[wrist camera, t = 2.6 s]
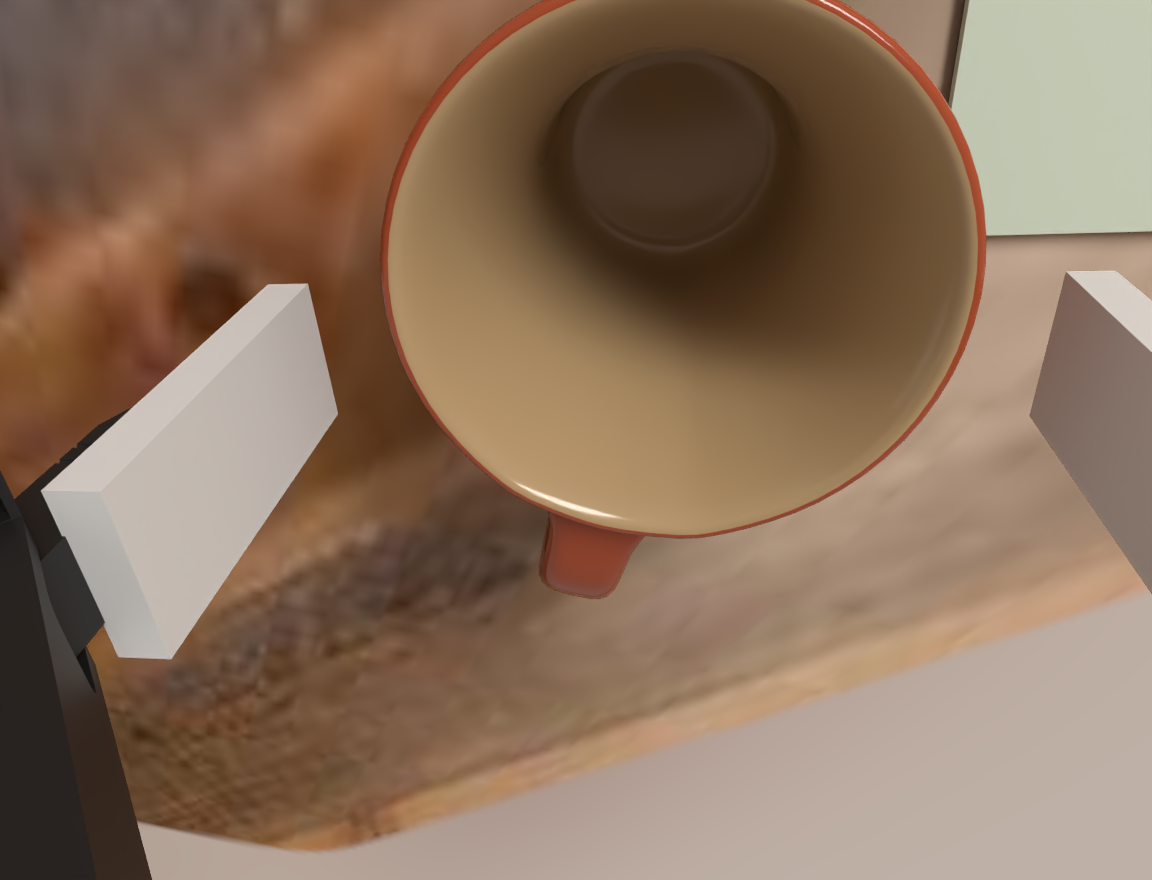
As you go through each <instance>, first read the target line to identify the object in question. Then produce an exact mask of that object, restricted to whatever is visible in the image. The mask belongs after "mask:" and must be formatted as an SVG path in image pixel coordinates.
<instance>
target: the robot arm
mask: <svg viewBox="0 0 1152 880" xmlns="http://www.w3.org/2000/svg"><path fill="white" fill-rule="evenodd" d="M337 415H338V411H337V407H336V403H335V398H334V394H333V390H332V386H331V381H330V377H329V373H328V368H327V364H326V360H325V355H324V351H323V347H322V343H321V338H320V334H319V330H318V325H317V321H316V317H315V313H314V308H313V304H312V300H311V295H310V291H309V287H308V284H268V285H267V286H266V287H265V288H264V289H263V290H261V291H260V292H259V293H258V294H257V295H256V296H255V297H254V298H253V299H252V300H250V301H249V302H248V303H247V304H246V305H245V306H244V307H243V308H242V309H240V310H239V311H238V312H237V313H236V314H235V315H234V316H233V317H232V318H231V319H229V320H228V321H227V322H226V323H225V324H224V325H223V326H222V327H221V328H220V329H218V330H217V331H216V332H215V333H214V334H213V335H212V336H211V337H210V338H209V339H207V340H206V341H205V342H204V343H203V344H202V345H201V346H200V347H199V348H198V349H196V350H195V351H194V352H193V353H192V354H191V355H190V356H189V357H188V358H187V359H185V360H184V361H183V362H182V363H181V364H180V365H179V366H178V367H177V368H176V369H174V370H173V371H172V372H171V373H170V374H169V375H168V376H167V377H166V378H165V379H163V380H162V381H161V382H160V383H159V384H158V385H157V386H156V387H155V388H154V389H152V390H151V391H150V392H149V393H148V394H147V395H146V396H145V397H144V398H143V399H141V400H140V401H139V402H138V403H137V404H136V405H135V406H134V407H133V408H131V409H128V410H126V411H124V412H122V413H120V414H118V415H116V416H115V417H113V418H111V419H109V420H107V421H105V422H103V423H102V424H100V425H98V426H97V427H96V428H95V429H94V430H92V431H91V432H90V433H89V434H88V435H87V436H86V437H85V438H83V439H82V440H81V441H80V442H79V443H78V444H77V448H72V449H71V450H70V451H69V452H68V453H66V454H65V455H64V456H63V457H62V458H61V459H60V463H55V464H54V465H53V466H52V467H51V468H49V469H48V470H47V471H46V472H45V473H44V474H43V475H42V476H40V477H39V478H38V479H37V480H36V481H35V482H34V483H33V484H31V485H30V486H29V487H28V488H27V489H26V490H25V491H24V492H22V493H21V494H20V495H19V496H18V497H17V498H16V499H14V498H13V496H12V494H11V492H10V490H9V488H8V486H7V484H6V482H5V479H4V477H3V475H2V473H1V471H0V880H152V878H151V874H150V870H149V866H148V862H147V859H146V855H145V851H144V847H143V844H142V840H141V836H140V832H139V828H138V825H137V821H136V817H135V813H134V810H133V806H132V802H131V798H130V794H129V791H128V787H127V783H126V779H125V775H124V772H123V768H122V764H121V760H120V757H119V753H118V749H117V745H116V741H115V738H114V734H113V730H112V726H111V723H110V719H109V715H108V711H107V707H106V704H105V700H104V696H103V692H102V689H101V685H100V681H99V677H98V673H97V670H96V666H95V663H94V661H93V659H92V657H91V655H90V653H89V651H88V649H87V647H86V645H87V644H88V643H89V642H90V640H91V639H92V638H93V637H94V636H95V634H96V633H97V632H98V631H99V629H100V628H101V627H102V626H103V625H104V627H105V629H106V632H107V634H108V636H109V638H110V640H111V642H112V644H113V647H114V649H115V651H116V653H117V655H118V657H127V658H152V659H172V657H173V656H174V654H175V653H176V651H177V650H178V649H179V647H180V646H181V644H182V643H183V641H184V640H185V638H186V637H187V635H188V634H189V632H190V631H191V629H192V628H193V627H194V625H195V624H196V622H197V621H198V619H199V618H200V616H201V615H202V613H203V612H204V610H205V609H206V607H207V606H208V604H209V603H210V602H211V600H212V599H213V597H214V596H215V594H216V593H217V591H218V590H219V588H220V587H221V585H222V584H223V582H224V581H225V579H226V578H227V577H228V575H229V574H230V572H231V571H232V569H233V568H234V566H235V565H236V563H237V562H238V560H239V559H240V557H241V556H242V554H243V553H244V552H245V550H246V549H247V547H248V546H249V544H250V543H251V541H252V540H253V538H254V537H255V535H256V534H257V532H258V531H259V529H260V528H261V527H262V525H263V524H264V522H265V521H266V519H267V518H268V516H269V515H270V513H271V512H272V510H273V509H274V507H275V506H276V505H277V503H278V502H279V500H280V499H281V497H282V496H283V494H284V493H285V491H286V490H287V488H288V487H289V485H290V484H291V482H292V481H293V480H294V478H295V477H296V475H297V474H298V472H299V471H300V469H301V468H302V466H303V465H304V463H305V462H306V460H307V459H308V457H309V456H310V455H311V453H312V452H313V450H314V449H315V447H316V446H317V444H318V443H319V441H320V440H321V438H322V437H323V435H324V434H325V432H326V431H327V430H328V428H329V427H330V425H331V424H332V422H333V421H334V419H335V418H336V416H337ZM1030 417H1031V419H1032V420H1033V422H1034V423H1035V424H1036V426H1037V427H1038V429H1039V430H1040V432H1041V433H1042V435H1043V436H1044V438H1045V439H1046V441H1047V442H1048V443H1049V445H1050V446H1051V448H1052V449H1053V451H1054V452H1055V454H1056V455H1057V457H1058V458H1059V459H1060V461H1061V462H1062V464H1063V465H1064V467H1065V468H1066V470H1067V471H1068V473H1069V474H1070V476H1071V477H1072V478H1073V480H1074V481H1075V483H1076V484H1077V486H1078V487H1079V489H1080V490H1081V492H1082V493H1083V495H1084V496H1085V497H1086V499H1087V500H1088V502H1089V503H1090V505H1091V506H1092V508H1093V509H1094V511H1095V512H1096V513H1097V515H1098V516H1099V518H1100V519H1101V521H1102V522H1103V524H1104V525H1105V527H1106V528H1107V530H1108V531H1109V532H1110V534H1111V535H1112V537H1113V538H1114V540H1115V541H1116V543H1117V544H1118V546H1119V547H1120V548H1121V550H1122V551H1123V553H1124V554H1125V556H1126V557H1127V559H1128V560H1129V562H1130V563H1131V565H1132V566H1133V567H1134V569H1135V570H1136V572H1137V573H1138V575H1139V576H1140V578H1141V579H1142V581H1143V582H1144V583H1145V585H1146V586H1147V588H1148V589H1149V591H1150V592H1151V594H1152V301H1151V300H1150V299H1149V298H1148V297H1146V296H1145V295H1144V294H1143V293H1142V292H1140V291H1139V290H1138V289H1137V288H1136V287H1134V286H1133V285H1132V284H1131V283H1130V282H1128V281H1127V280H1126V279H1125V278H1124V277H1122V276H1121V275H1120V274H1119V273H1118V272H1116V271H1066V274H1065V278H1064V282H1063V286H1062V290H1061V294H1060V298H1059V302H1058V306H1057V309H1056V313H1055V317H1054V321H1053V325H1052V329H1051V333H1050V337H1049V341H1048V345H1047V349H1046V353H1045V357H1044V361H1043V365H1042V369H1041V373H1040V377H1039V381H1038V385H1037V389H1036V393H1035V396H1034V400H1033V404H1032V408H1031V412H1030Z"/></svg>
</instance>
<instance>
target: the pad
mask: <svg viewBox="0 0 1152 880" xmlns="http://www.w3.org/2000/svg"><path fill="white" fill-rule="evenodd" d="M948 105H949V107H950V109H951V110H952V112H953V114H954V115H955V117H956V119H957V121H958V123H959V126H960V128H961V130H962V132H963V135H964V137H965V139H966V141H967V144H968V146H969V149H970V152H971V155H972V158H973V161H974V165H975V168H976V171H977V174H978V178H979V183H980V188H981V193H982V198H983V204H984V211H985V224H986V236H991V235H1029V234H1067V233H1105V232H1143V231H1152V0H965V5H964V11H963V17H962V23H961V29H960V35H959V42H958V48H957V54H956V60H955V66H954V72H953V78H952V84H951V91H950V97H949V103H948Z"/></svg>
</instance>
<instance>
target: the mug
mask: <svg viewBox="0 0 1152 880" xmlns="http://www.w3.org/2000/svg"><path fill="white" fill-rule="evenodd" d="M986 239H987V237H986V224H985V211H984V204H983V198H982V193H981V188H980V183H979V178H978V174H977V171H976V168H975V165H974V161H973V158H972V155H971V152H970V149H969V146H968V144H967V141H966V139H965V137H964V135H963V132H962V130H961V128H960V126H959V123H958V121H957V119H956V117H955V115H954V114H953V112H952V110H951V109H950V107H949V105H948V104H947V102H946V100H945V99H944V97H943V95H942V94H941V92H940V90H939V89H938V88H937V86H936V85H935V84H934V83H933V81H932V80H931V79H930V77H929V76H928V75H927V73H926V72H925V71H924V70H923V68H922V67H921V66H920V64H919V63H918V62H917V61H916V60H915V59H914V58H913V57H912V56H911V55H910V54H909V53H908V52H907V51H906V50H905V49H904V48H903V47H902V46H901V45H900V44H899V43H898V42H897V41H896V40H895V39H893V38H892V37H891V36H890V35H888V34H887V33H886V32H885V31H884V30H882V29H881V28H880V27H879V26H877V25H876V24H875V23H874V22H872V21H871V20H870V19H868V18H866V17H865V16H863V15H862V14H860V13H859V12H857V11H855V10H854V9H852V8H851V7H849V6H847V5H846V4H844V3H843V2H841V1H839V0H543V1H541V2H539V3H537V4H535V5H534V6H532V7H531V8H529V9H527V10H526V11H524V12H523V13H521V14H519V15H518V16H516V17H514V18H513V19H511V20H510V21H508V22H507V23H505V24H504V25H503V26H502V27H500V28H499V29H498V30H496V31H495V32H494V33H493V34H491V35H490V36H489V37H487V38H486V39H485V40H484V41H482V42H481V43H480V44H479V45H478V46H477V47H476V48H475V49H474V50H473V51H472V52H471V53H470V54H469V55H468V56H467V57H466V58H465V59H464V60H463V61H462V62H461V63H459V64H458V65H457V67H456V68H455V69H454V70H453V71H452V73H451V74H450V75H449V76H448V77H447V79H446V80H445V81H444V82H443V83H442V85H441V86H440V87H439V88H438V90H437V91H436V92H435V94H434V95H433V97H432V98H431V100H430V101H429V103H428V104H427V106H426V107H425V109H424V110H423V112H422V113H421V115H420V116H419V118H418V120H417V122H416V124H415V126H414V128H413V130H412V132H411V134H410V136H409V138H408V140H407V142H406V143H405V146H404V149H403V151H402V154H401V156H400V159H399V161H398V164H397V166H396V169H395V172H394V175H393V179H392V183H391V186H390V190H389V194H388V197H387V201H386V207H385V213H384V219H383V225H382V236H381V253H380V262H381V284H382V291H383V298H384V305H385V311H386V315H387V319H388V323H389V328H390V332H391V336H392V338H393V341H394V344H395V347H396V350H397V353H398V355H399V358H400V361H401V363H402V365H403V367H404V369H405V371H406V374H407V376H408V378H409V380H410V382H411V384H412V386H413V387H414V389H415V391H416V393H417V394H418V396H419V398H420V399H421V401H422V403H423V405H424V406H425V407H426V409H427V410H428V412H429V413H430V414H431V416H432V417H433V419H434V420H435V421H436V423H437V424H438V425H439V427H440V428H441V429H442V430H443V431H444V432H445V434H446V435H447V436H448V437H449V438H450V439H451V441H452V442H453V443H454V444H455V445H456V446H457V447H458V448H459V449H460V450H461V451H462V452H463V453H464V454H465V455H466V456H467V457H468V458H469V459H470V460H471V461H472V462H473V463H474V464H475V465H476V466H478V467H479V468H480V469H481V470H482V471H483V472H484V473H485V474H486V475H488V476H489V477H490V478H491V479H493V480H494V481H495V482H496V483H498V484H499V485H500V486H501V487H503V488H504V489H506V490H507V491H508V492H510V493H511V494H513V495H515V496H517V497H519V498H521V499H523V500H524V501H526V502H528V503H530V504H533V505H535V506H537V507H540V508H542V509H545V510H547V511H548V513H549V517H548V521H547V526H546V531H545V536H544V541H543V546H542V551H541V557H540V563H539V576H540V578H541V581H542V582H543V583H544V584H545V585H546V586H547V587H549V588H551V589H553V590H556V591H559V592H562V593H565V594H569V595H574V596H578V597H583V598H589V599H600V598H604V597H607V596H608V595H609V594H611V593H612V592H613V591H614V590H615V588H616V586H617V584H618V582H619V580H620V578H621V576H622V574H623V572H624V569H625V567H626V564H627V562H628V560H629V558H630V556H631V554H632V552H633V551H634V549H635V548H636V546H637V545H638V544H639V543H640V541H641V540H642V539H643V538H644V537H645V536H652V537H665V538H677V539H683V538H703V537H710V536H715V535H720V534H725V533H730V532H734V531H738V530H743V529H747V528H751V527H754V526H757V525H761V524H764V523H768V522H771V521H774V520H777V519H780V518H782V517H785V516H788V515H791V514H793V513H796V512H798V511H801V510H803V509H805V508H807V507H809V506H812V505H814V504H816V503H818V502H820V501H822V500H824V499H826V498H828V497H829V496H831V495H833V494H835V493H837V492H839V491H840V490H842V489H844V488H845V487H847V486H848V485H850V484H851V483H853V482H854V481H856V480H857V479H859V478H860V477H862V476H863V475H865V474H866V473H867V472H868V471H870V470H871V469H872V468H874V467H875V466H876V465H877V464H879V463H880V462H881V461H882V460H884V459H885V458H886V457H887V456H888V455H889V454H890V453H891V452H892V451H893V450H894V449H896V448H897V447H898V446H899V445H900V444H901V443H902V442H903V441H904V440H905V439H906V438H907V437H908V435H909V434H910V433H911V432H912V431H913V430H914V429H915V428H916V427H917V425H918V424H919V423H920V422H921V421H922V420H923V418H924V417H925V416H926V414H927V413H928V412H929V410H930V409H931V408H932V406H933V405H934V404H935V402H936V401H937V399H938V398H939V396H940V395H941V393H942V391H943V390H944V388H945V387H946V385H947V383H948V382H949V380H950V378H951V377H952V375H953V373H954V371H955V369H956V367H957V365H958V363H959V360H960V358H961V356H962V354H963V352H964V350H965V347H966V345H967V342H968V339H969V337H970V334H971V331H972V328H973V326H974V323H975V319H976V315H977V311H978V307H979V303H980V299H981V295H982V288H983V281H984V274H985V267H986Z"/></svg>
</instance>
